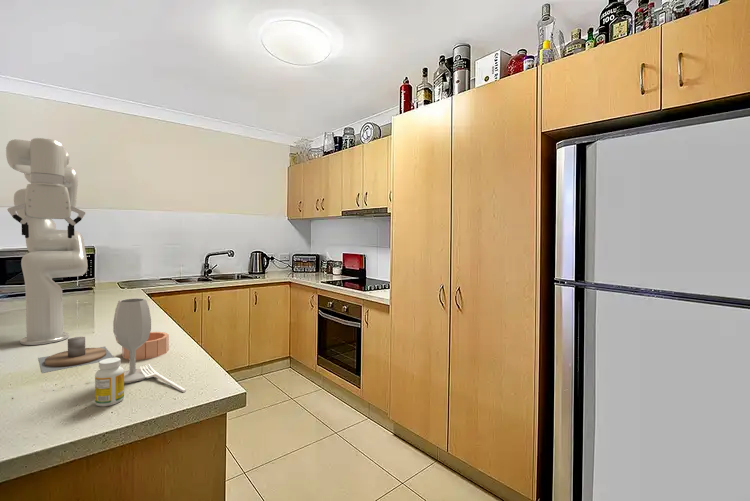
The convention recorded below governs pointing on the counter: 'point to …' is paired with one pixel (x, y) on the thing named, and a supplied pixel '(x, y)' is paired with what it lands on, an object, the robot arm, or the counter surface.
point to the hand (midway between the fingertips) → (49, 237)
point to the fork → (160, 377)
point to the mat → (49, 369)
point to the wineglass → (132, 332)
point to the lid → (75, 354)
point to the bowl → (151, 346)
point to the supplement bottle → (109, 382)
